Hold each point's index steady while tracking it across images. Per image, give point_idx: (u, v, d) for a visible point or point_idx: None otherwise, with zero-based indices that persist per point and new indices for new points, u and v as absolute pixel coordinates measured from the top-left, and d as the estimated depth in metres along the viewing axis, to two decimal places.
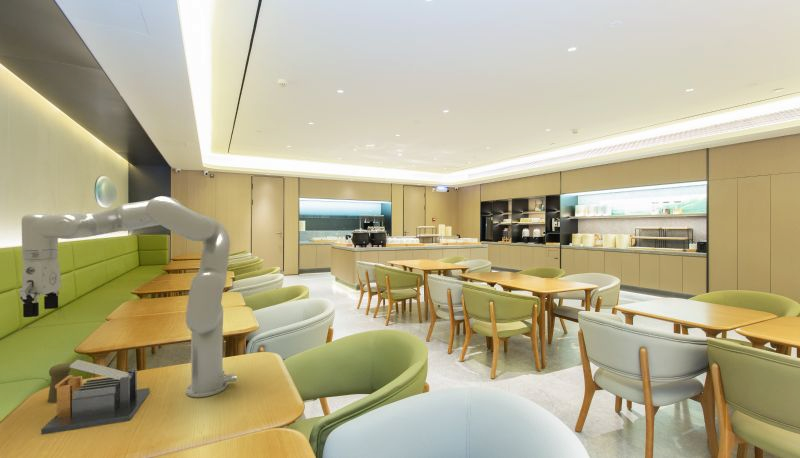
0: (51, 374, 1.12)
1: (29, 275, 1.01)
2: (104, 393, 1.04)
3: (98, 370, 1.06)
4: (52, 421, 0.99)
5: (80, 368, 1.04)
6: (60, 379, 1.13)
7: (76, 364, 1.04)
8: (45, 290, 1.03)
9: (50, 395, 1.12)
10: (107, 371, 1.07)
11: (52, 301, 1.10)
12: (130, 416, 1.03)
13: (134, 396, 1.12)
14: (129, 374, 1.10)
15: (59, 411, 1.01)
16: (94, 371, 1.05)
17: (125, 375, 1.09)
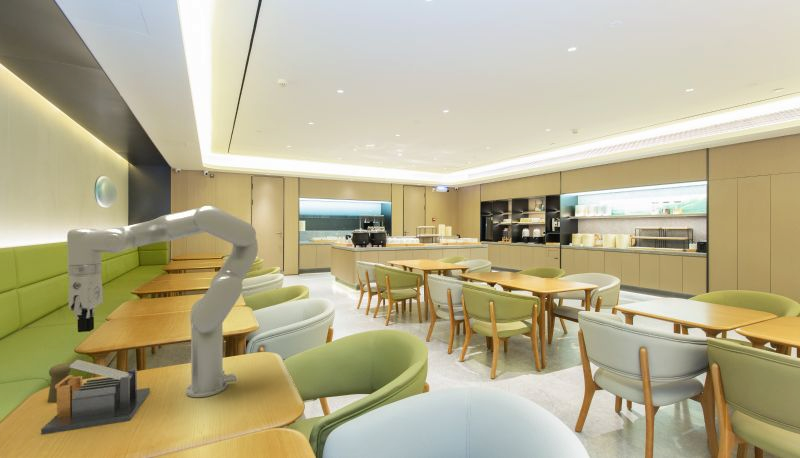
0: (51, 374, 1.12)
1: (75, 290, 1.01)
2: (104, 393, 1.04)
3: (98, 370, 1.06)
4: (52, 421, 0.99)
5: (80, 368, 1.04)
6: (60, 379, 1.13)
7: (76, 364, 1.04)
8: (90, 305, 1.03)
9: (50, 395, 1.12)
10: (107, 371, 1.07)
11: None
12: (130, 416, 1.03)
13: (134, 396, 1.12)
14: (129, 374, 1.10)
15: (59, 411, 1.01)
16: (94, 371, 1.05)
17: (125, 375, 1.09)
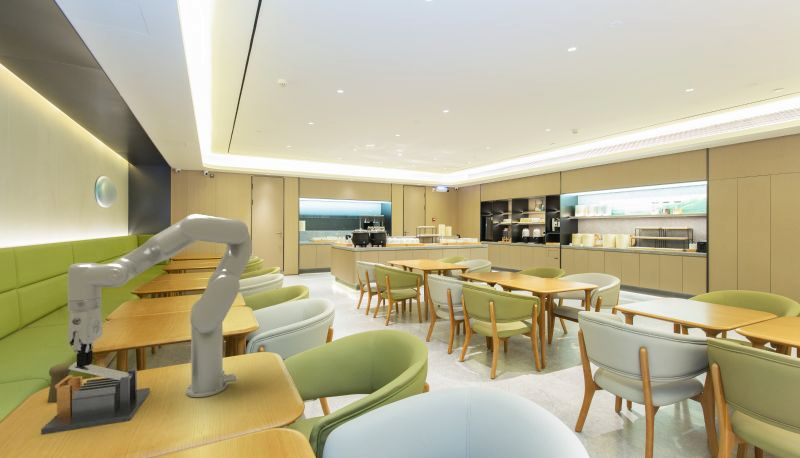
0: (51, 374, 1.12)
1: (75, 326, 1.01)
2: (104, 393, 1.04)
3: (97, 371, 1.06)
4: (52, 421, 0.99)
5: (79, 369, 1.04)
6: (60, 379, 1.13)
7: (75, 366, 1.04)
8: (90, 340, 1.03)
9: (50, 395, 1.12)
10: (107, 372, 1.07)
11: None
12: (130, 416, 1.03)
13: (134, 396, 1.12)
14: (129, 374, 1.10)
15: (59, 411, 1.01)
16: (93, 372, 1.05)
17: (125, 375, 1.09)
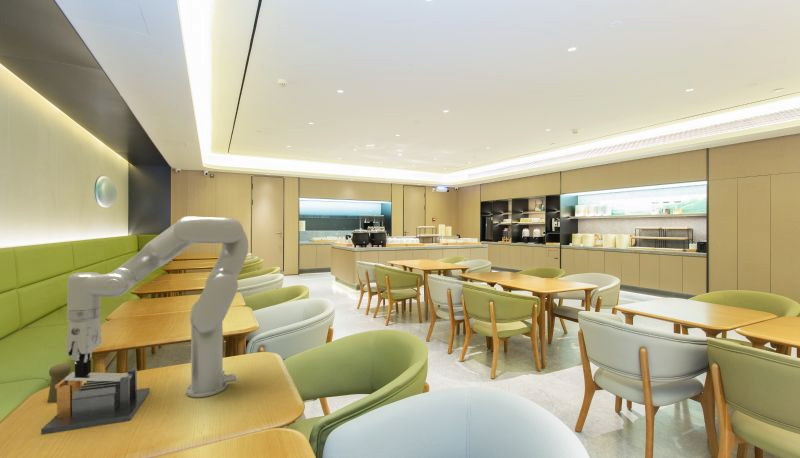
0: (51, 374, 1.12)
1: (74, 336, 1.01)
2: (104, 393, 1.04)
3: (95, 377, 1.06)
4: (52, 421, 0.99)
5: (76, 379, 1.04)
6: (60, 379, 1.13)
7: (71, 376, 1.04)
8: (88, 350, 1.03)
9: (50, 395, 1.12)
10: (105, 376, 1.07)
11: None
12: (130, 416, 1.03)
13: (134, 396, 1.12)
14: (128, 374, 1.10)
15: (59, 411, 1.01)
16: (91, 379, 1.05)
17: (124, 376, 1.09)
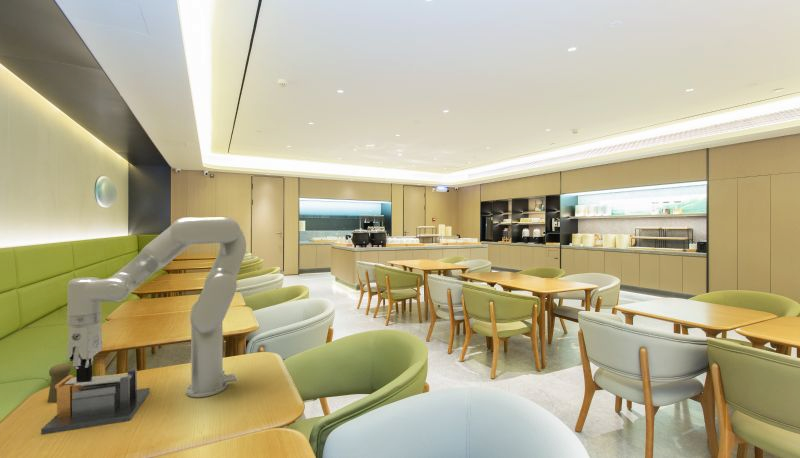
0: (51, 374, 1.12)
1: (75, 341, 1.01)
2: (104, 393, 1.04)
3: (95, 380, 1.06)
4: (52, 421, 0.99)
5: (76, 384, 1.04)
6: (60, 379, 1.13)
7: (70, 382, 1.04)
8: (89, 355, 1.03)
9: (50, 395, 1.12)
10: (104, 378, 1.07)
11: None
12: (130, 416, 1.03)
13: (134, 396, 1.12)
14: (128, 374, 1.10)
15: (59, 411, 1.01)
16: (91, 382, 1.05)
17: (124, 376, 1.09)
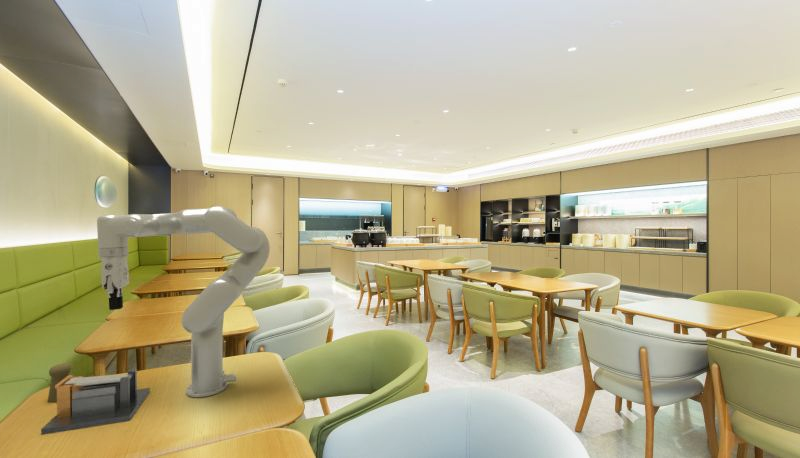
0: (51, 374, 1.12)
1: (108, 270, 1.10)
2: (104, 393, 1.04)
3: (95, 380, 1.06)
4: (52, 421, 0.99)
5: (76, 384, 1.04)
6: (60, 379, 1.13)
7: (70, 382, 1.04)
8: (121, 284, 1.12)
9: (50, 395, 1.12)
10: (104, 378, 1.07)
11: None
12: (130, 416, 1.03)
13: (134, 396, 1.12)
14: (128, 374, 1.10)
15: (59, 411, 1.01)
16: (91, 382, 1.05)
17: (124, 376, 1.09)
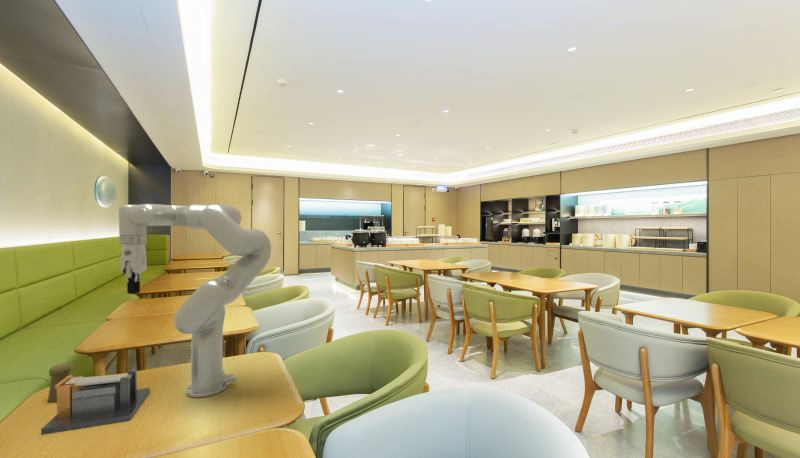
0: (51, 374, 1.12)
1: (127, 256, 1.17)
2: (104, 393, 1.04)
3: (95, 380, 1.06)
4: (52, 421, 0.99)
5: (76, 384, 1.04)
6: (60, 379, 1.13)
7: (70, 382, 1.04)
8: (139, 270, 1.19)
9: (50, 395, 1.12)
10: (104, 378, 1.07)
11: None
12: (130, 416, 1.03)
13: (134, 396, 1.12)
14: (128, 374, 1.10)
15: (59, 411, 1.01)
16: (91, 382, 1.05)
17: (124, 376, 1.09)
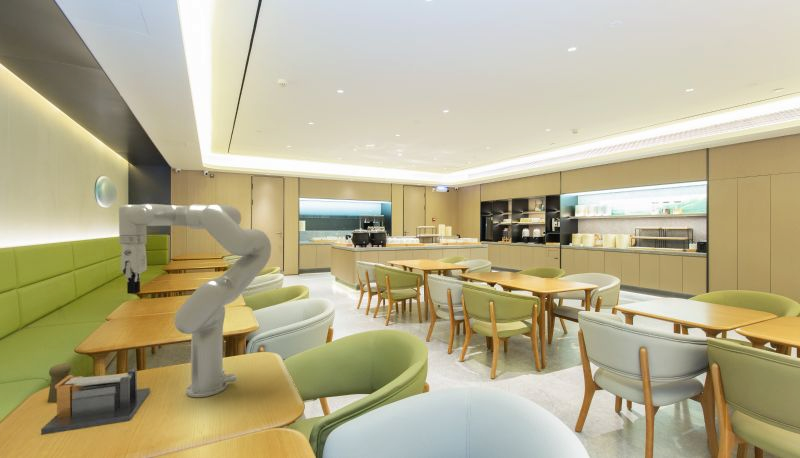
0: (51, 374, 1.12)
1: (127, 256, 1.17)
2: (104, 393, 1.04)
3: (95, 380, 1.06)
4: (52, 421, 0.99)
5: (76, 384, 1.04)
6: (60, 379, 1.13)
7: (70, 382, 1.04)
8: (139, 270, 1.19)
9: (50, 395, 1.12)
10: (104, 378, 1.07)
11: None
12: (130, 416, 1.03)
13: (134, 396, 1.12)
14: (128, 374, 1.10)
15: (59, 411, 1.01)
16: (91, 382, 1.05)
17: (124, 376, 1.09)
